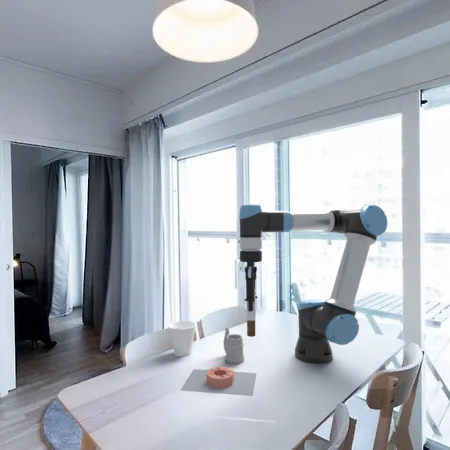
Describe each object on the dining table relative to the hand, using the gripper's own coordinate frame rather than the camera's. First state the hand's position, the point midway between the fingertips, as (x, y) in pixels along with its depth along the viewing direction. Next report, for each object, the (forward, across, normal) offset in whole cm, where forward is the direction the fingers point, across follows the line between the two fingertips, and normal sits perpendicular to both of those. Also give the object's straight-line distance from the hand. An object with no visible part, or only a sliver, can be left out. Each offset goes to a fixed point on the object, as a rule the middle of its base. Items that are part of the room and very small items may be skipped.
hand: (251, 318), depth 111 cm
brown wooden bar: (+6, 0, 0) cm, 6 cm away
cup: (+23, -25, -32) cm, 46 cm away
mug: (+23, -21, -10) cm, 33 cm away
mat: (+23, -1, -11) cm, 26 cm away
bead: (+23, -1, -11) cm, 25 cm away
